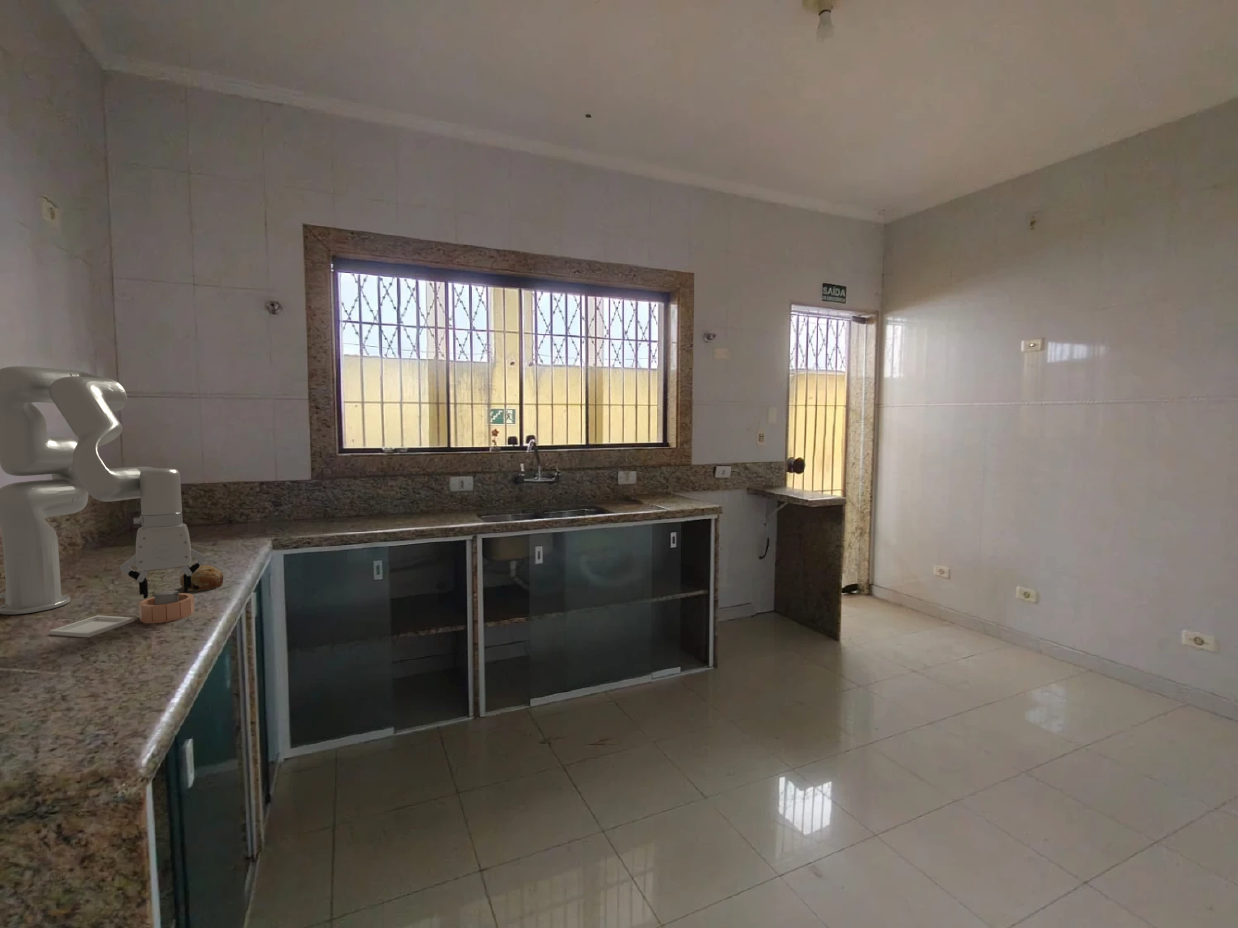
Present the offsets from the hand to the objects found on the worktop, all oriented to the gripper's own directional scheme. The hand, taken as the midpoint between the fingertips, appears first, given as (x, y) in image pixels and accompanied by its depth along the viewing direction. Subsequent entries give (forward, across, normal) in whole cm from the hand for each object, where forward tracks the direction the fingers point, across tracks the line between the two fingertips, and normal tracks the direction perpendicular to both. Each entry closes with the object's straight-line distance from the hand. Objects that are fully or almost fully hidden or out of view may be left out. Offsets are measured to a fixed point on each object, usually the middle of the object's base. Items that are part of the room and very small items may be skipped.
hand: (166, 593), depth 135 cm
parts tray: (+6, -13, 0) cm, 14 cm away
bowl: (+6, 0, 0) cm, 6 cm away
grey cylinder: (+5, 0, 0) cm, 5 cm away
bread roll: (+6, +7, +26) cm, 28 cm away
